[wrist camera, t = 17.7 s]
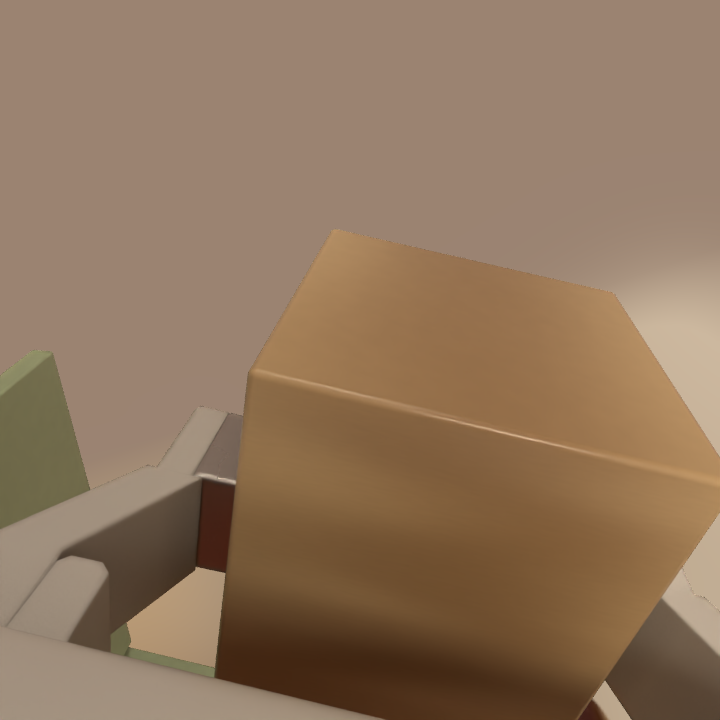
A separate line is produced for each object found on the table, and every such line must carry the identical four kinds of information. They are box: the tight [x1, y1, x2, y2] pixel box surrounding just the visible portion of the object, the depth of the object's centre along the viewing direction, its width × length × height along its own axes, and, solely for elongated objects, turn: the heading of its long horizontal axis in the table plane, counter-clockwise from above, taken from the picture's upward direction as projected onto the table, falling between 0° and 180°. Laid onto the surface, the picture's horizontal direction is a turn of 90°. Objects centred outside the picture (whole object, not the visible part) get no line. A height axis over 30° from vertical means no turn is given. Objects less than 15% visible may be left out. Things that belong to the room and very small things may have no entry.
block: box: [214, 229, 720, 720], centre depth 9 cm, size 4×4×8 cm
